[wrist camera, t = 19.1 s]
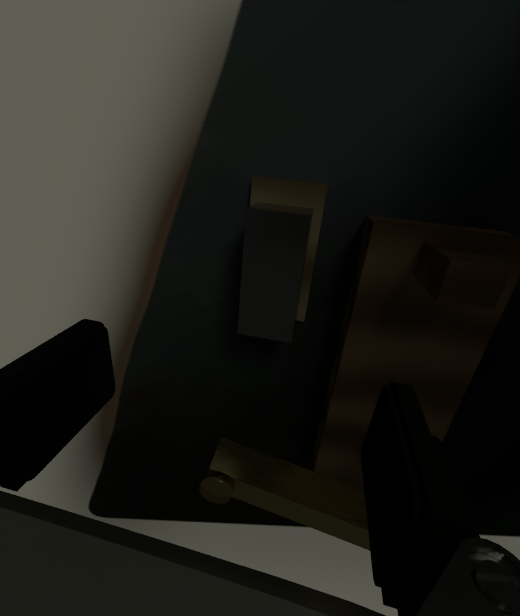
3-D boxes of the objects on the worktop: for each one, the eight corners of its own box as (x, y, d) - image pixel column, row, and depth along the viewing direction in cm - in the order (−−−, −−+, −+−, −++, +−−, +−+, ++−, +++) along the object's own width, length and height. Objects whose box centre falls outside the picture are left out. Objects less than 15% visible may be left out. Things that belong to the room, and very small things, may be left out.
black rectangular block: (259, 202, 25) (245, 207, 21) (313, 208, 24) (311, 215, 20) (249, 311, 29) (237, 333, 25) (296, 319, 29) (291, 343, 25)
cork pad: (253, 176, 25) (252, 176, 24) (327, 183, 24) (327, 184, 24) (243, 308, 30) (242, 311, 29) (304, 319, 29) (304, 321, 29)
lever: (392, 453, 28) (417, 559, 20) (381, 469, 29) (400, 576, 21) (235, 396, 29) (202, 476, 21) (230, 413, 30) (196, 496, 22)
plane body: (367, 215, 24) (386, 236, 16) (503, 231, 23) (598, 262, 15) (314, 447, 35) (310, 528, 27) (404, 467, 34) (428, 559, 26)
